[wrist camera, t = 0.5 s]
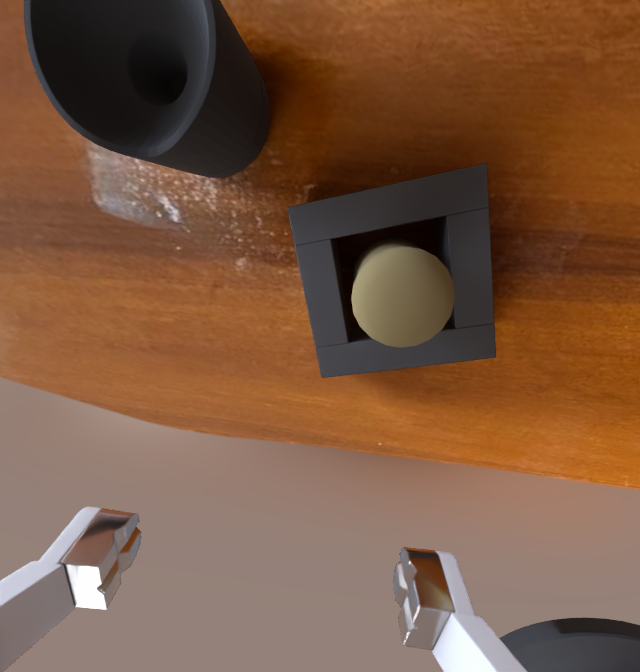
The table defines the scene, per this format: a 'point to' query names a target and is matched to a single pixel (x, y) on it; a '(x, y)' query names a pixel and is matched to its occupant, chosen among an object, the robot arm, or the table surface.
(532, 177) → the table surface
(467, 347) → the holder stand
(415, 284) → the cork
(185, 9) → the pen holder
